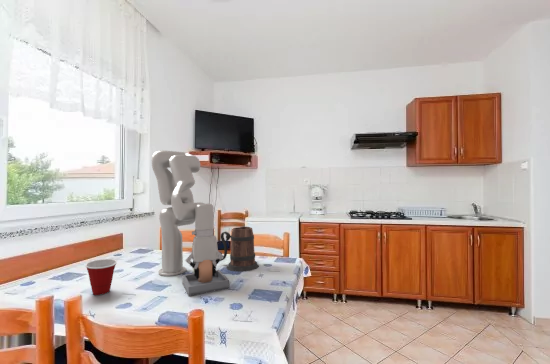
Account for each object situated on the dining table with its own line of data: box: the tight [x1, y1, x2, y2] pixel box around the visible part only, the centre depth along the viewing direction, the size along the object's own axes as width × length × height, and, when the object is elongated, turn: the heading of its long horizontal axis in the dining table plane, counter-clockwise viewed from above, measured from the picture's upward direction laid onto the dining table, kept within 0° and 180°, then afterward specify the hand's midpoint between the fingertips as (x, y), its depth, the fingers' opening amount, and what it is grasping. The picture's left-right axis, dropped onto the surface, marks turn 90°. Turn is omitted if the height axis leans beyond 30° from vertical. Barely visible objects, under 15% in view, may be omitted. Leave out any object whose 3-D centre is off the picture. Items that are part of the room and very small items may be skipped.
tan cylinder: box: [198, 260, 213, 283], centre depth 114 cm, size 6×6×9 cm
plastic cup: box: [84, 258, 118, 296], centre depth 109 cm, size 11×11×12 cm
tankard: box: [218, 226, 260, 273], centre depth 143 cm, size 24×17×20 cm
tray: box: [181, 269, 230, 297], centre depth 115 cm, size 16×16×4 cm
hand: (205, 276), depth 115 cm, fingers closed on tan cylinder, 6 cm apart
